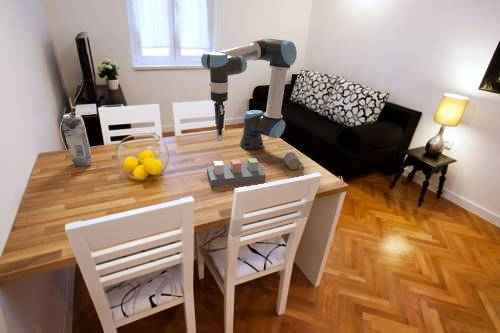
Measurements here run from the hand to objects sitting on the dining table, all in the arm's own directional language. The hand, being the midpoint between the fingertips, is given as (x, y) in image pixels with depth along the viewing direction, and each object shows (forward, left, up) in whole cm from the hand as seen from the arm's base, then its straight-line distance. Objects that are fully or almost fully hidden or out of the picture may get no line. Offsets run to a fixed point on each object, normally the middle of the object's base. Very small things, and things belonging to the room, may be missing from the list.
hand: (219, 140), depth 133 cm
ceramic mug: (-6, +45, -22) cm, 50 cm away
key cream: (0, 0, -19) cm, 19 cm away
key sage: (0, +18, -19) cm, 26 cm away
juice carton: (-29, -68, -22) cm, 77 cm away
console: (0, +9, -21) cm, 23 cm away
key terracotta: (0, +9, -19) cm, 21 cm away
